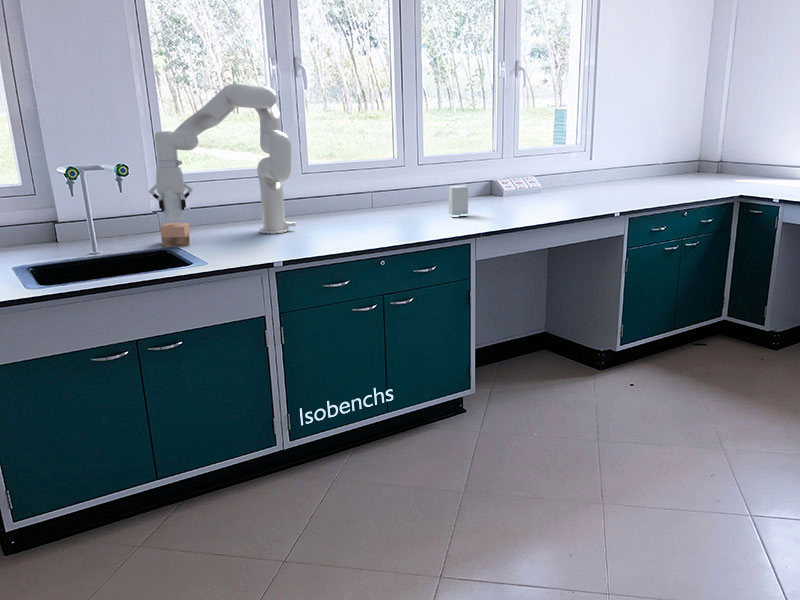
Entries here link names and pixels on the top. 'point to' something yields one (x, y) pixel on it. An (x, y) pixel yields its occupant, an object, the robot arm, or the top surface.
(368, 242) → the top surface
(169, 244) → the tower base block
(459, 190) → the skincare box
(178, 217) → the skincare box
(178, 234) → the tower top block
